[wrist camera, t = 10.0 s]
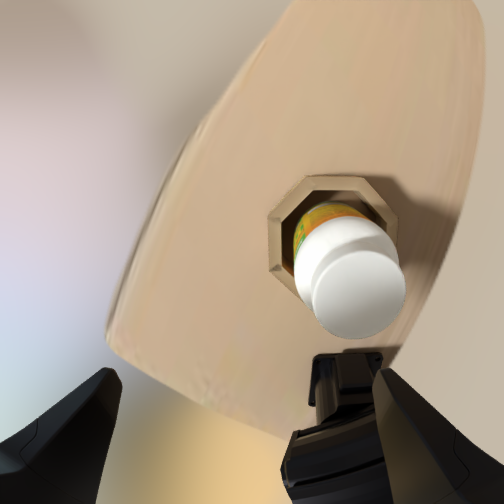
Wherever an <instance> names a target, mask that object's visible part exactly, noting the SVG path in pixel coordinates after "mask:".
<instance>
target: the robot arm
mask: <svg viewBox="0 0 504 504" xmlns="http://www.w3.org/2000/svg"><path fill="white" fill-rule="evenodd" d="M377 357H379V358H378V359H376V358H377ZM317 360H320V361H319V362H316V361H317ZM382 361H383V356H382V354H381V353H379V352H376V353H361V354H342V355H317V356H315V357H314V358H313V360H312V371H311V380H310V390H309V398H308V405H309V406H312V407H316V420H317V426H314V427H310V428H307V429H304V430H297V431H293V434H292V436H291V439H290V442H289V445H288V448H287V450H286V453H285V456H284V458H283V461H282V465H281V469H280V471H281V475H282V480H283V483H284V486H285V488H286V491H287V493H288V495H289V497H290V499H291V500H292V503H293V504H504V465H503V464H501V463H499V462H498V461H497V460H495V459H494V458H493V457H491V456H489V455H488V454H487V453H485V452H484V451H483V450H481V449H480V448H479V447H477V446H476V445H475V444H473V443H472V442H471V441H470V440H469V439H468V438H466V437H465V436H464V435H463V434H462V433H461V432H460V431H459V430H458V429H456V428H455V427H454V426H453V425H452V424H451V423H450V422H449V421H448V420H447V419H446V418H445V417H444V416H443V415H441V414H440V413H439V412H438V411H437V410H436V409H435V408H434V407H433V406H432V405H430V403H428V402H427V401H426V400H425V399H424V398H423V397H422V396H420V394H419V393H417V392H416V391H415V390H414V389H413V388H412V387H411V386H410V385H409V384H408V383H407V382H406V381H404V380H403V379H402V378H401V377H400V376H399V375H398V374H397V373H396V372H394V371H393V370H392V369H391V368H383V369H380V368H381V365H382ZM121 393H122V382H121V380H120V379H119V377H118V375H117V373H116V371H115V370H114V369H112V368H107V367H104V368H102V369H101V370H99V371H98V372H97V373H95V374H94V375H93V376H92V377H90V378H89V379H87V380H86V381H85V382H84V383H82V384H81V385H80V386H78V387H77V388H76V389H75V390H73V391H72V392H71V393H69V394H68V395H67V396H65V397H64V398H63V399H62V400H60V401H59V402H58V403H56V404H55V405H54V406H52V407H51V408H50V409H49V410H47V411H46V412H45V413H43V414H42V415H41V416H39V418H37V419H35V420H34V421H33V422H32V423H30V424H29V425H28V426H26V427H25V428H24V429H22V430H20V431H19V432H17V433H16V434H14V435H13V436H11V437H9V438H8V439H6V440H4V441H3V442H1V443H0V504H95V503H96V498H97V494H98V489H99V485H100V481H101V476H102V472H103V468H104V464H105V460H106V457H107V453H108V449H109V445H110V442H111V438H112V435H113V431H114V428H115V424H116V420H117V414H118V409H119V403H120V398H121Z"/></svg>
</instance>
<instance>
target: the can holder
mask: <svg viewBox="0 0 504 504" xmlns="http://www.w3.org/2000/svg"><path fill="white" fill-rule="evenodd" d="M325 201H338V202H342V203H345V204H347V205H350V206H351V207H353V208H354V209H356V210H357V211H358V212H360V213H361V214H363V215H364V216H365V217H367V218H368V219H370V220H371V221H372V222H374V223H375V224H377V225H378V226H379V227H380V228H381V229H382V230H383V231H384V232H385V233H386V234H387V235H388V236H389V237H390V239H391V240H392V242H393V244H394V246H395V248H396V245H397V233H398V217H397V216H396V215H395V213H394V212H393V211H392V210H391V209H390V207H389V206H388V205H387V204H386V203H385V201H384V200H383V199H382V198H381V197H380V196H379V195H378V193H377V192H376V191H375V190H374V189H373V188H372V187H371V185H370V184H369V183H368V182H367V181H366V180H365V179H364V178H363V177H356V176H329V175H328V176H304V177H303V178H302V179H301V180H300V181H299V182H298V183H297V184H296V185H295V186H294V187H293V188H292V189H291V190H290V191H289V192H288V193H287V194H286V195H285V196H284V198H283V199H282V200H281V201H280V202H279V203H278V204H277V205H276V206H275V207H274V208H273V209H272V210H271V211H270V213H269V215H268V246H269V272H271V273H272V274H273V275H274V276H275V277H276V278H277V279H278V280H279V281H280V282H282V283H283V284H284V285H285V286H286V287H287V288H288V289H289V290H290V291H291V292H292V293H294V294H295V295H296V296H297V297H298V298H299V299H300V300H301V301H302V302H303V300H302V299H301V297H300V295H299V293H298V290H297V288H296V284H295V278H294V245H293V237H294V231H295V227H296V224H297V222H298V220H299V219H300V217H301V216H302V215H303V213H304V212H305V211H307V210H308V209H309V208H311V207H312V206H314V205H316V204H318V203H321V202H325ZM303 303H304V302H303ZM304 304H305V303H304Z"/></svg>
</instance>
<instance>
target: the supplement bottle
mask: <svg viewBox="0 0 504 504" xmlns="http://www.w3.org/2000/svg"><path fill="white" fill-rule="evenodd" d="M293 245H294V278H295V284H296V288H297V290H298V293H299V295H300V297H301V299H302V300H303V302H304V303H305V304H306V306H307V307H308V308H309V309H310V310H312V311H313V312H314V313H315V316H316V318H317V319H318V321H319V323H320V324H321V325H322V326H323V327H324V328H325V329H326V330H327V331H328V332H330V333H331V334H333V335H335V336H338V337H341V338H345V339H362V338H367V337H370V336H373V335H375V334H377V333H379V332H381V331H382V330H384V329H385V328H386V327H388V326H389V325H390V324H391V323H392V322H393V321H394V320H395V318H396V317H397V316H398V314H399V313H400V311H401V309H402V307H403V304H404V301H405V296H406V282H405V278H404V274H403V272H402V270H401V268H400V267H399V259H398V254H397V251H396V248H395V246H394V244H393V242H392V240H391V239H390V237H389V236H388V235H387V234H386V233H385V232H384V231H383V230H382V229H381V228H380V227H379V226H378V225H377V224H375V223H374V222H372V221H371V220H370V219H368V218H367V217H365V216H364V215H363V214H361V213H360V212H358V211H357V210H356V209H354V208H353V207H351V206H350V205H347V204H345V203H342V202H338V201H325V202H321V203H318V204H316V205H314V206H312V207H311V208H309V209H308V210H307V211H305V212H304V213H303V215H302V216H301V217H300V219H299V220H298V222H297V224H296V227H295V231H294V237H293Z"/></svg>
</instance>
